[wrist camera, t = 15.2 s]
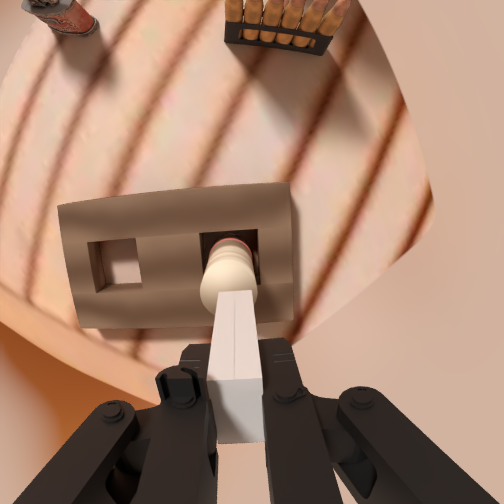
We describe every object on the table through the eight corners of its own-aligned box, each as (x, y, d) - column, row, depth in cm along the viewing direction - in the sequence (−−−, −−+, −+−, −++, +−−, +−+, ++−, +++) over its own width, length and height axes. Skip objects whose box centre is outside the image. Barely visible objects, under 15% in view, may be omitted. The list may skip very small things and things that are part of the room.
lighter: (46, 31, 26) (4, 4, 16) (59, 10, 25) (21, -21, 15) (89, 40, 27) (49, 7, 17) (103, 17, 26) (69, -20, 16)
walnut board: (70, 202, 31) (57, 205, 28) (284, 182, 32) (289, 182, 29) (90, 317, 35) (80, 328, 32) (288, 308, 35) (293, 320, 33)
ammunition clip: (224, 42, 28) (219, -16, 17) (226, 29, 28) (223, -32, 16) (322, 56, 29) (360, 7, 17) (323, 42, 29) (360, -9, 17)
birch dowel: (209, 234, 33) (195, 265, 21) (249, 231, 33) (257, 261, 22) (213, 272, 34) (202, 321, 22) (252, 269, 34) (260, 317, 23)
